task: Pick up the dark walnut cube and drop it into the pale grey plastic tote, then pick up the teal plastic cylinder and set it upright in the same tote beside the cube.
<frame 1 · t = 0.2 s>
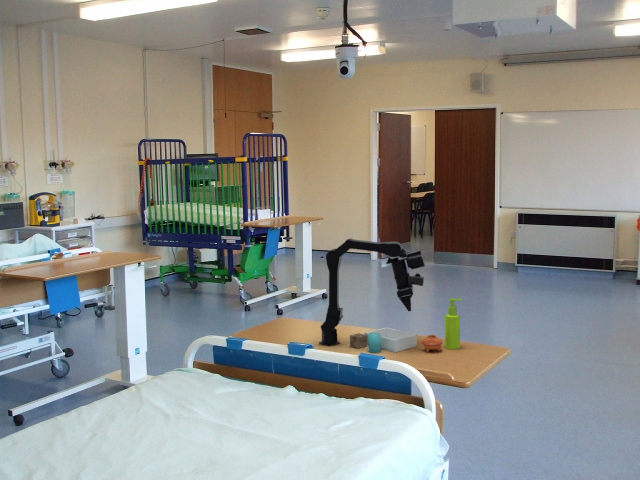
hand: (409, 309, 263), 15 cm above the table, tool pointing down, fingers open, 9 cm apart
soap dispenser: (454, 347, 261), on the table
tote: (390, 345, 266), on the table
teal cylinder: (374, 351, 257), on the table
pot: (432, 351, 257), on the table
walnut cube: (358, 347, 265), on the table
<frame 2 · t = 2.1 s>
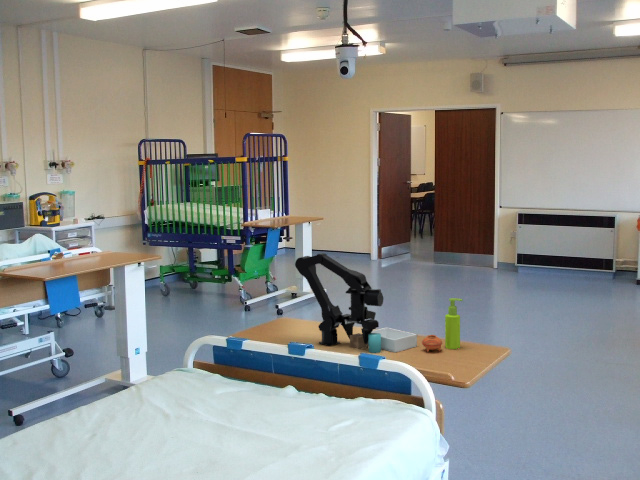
hand: (358, 342, 265), 2 cm above the table, tool pointing down, fingers open, 8 cm apart
teal cylinder: (374, 351, 257), on the table, touching gripper
everything else where it was.
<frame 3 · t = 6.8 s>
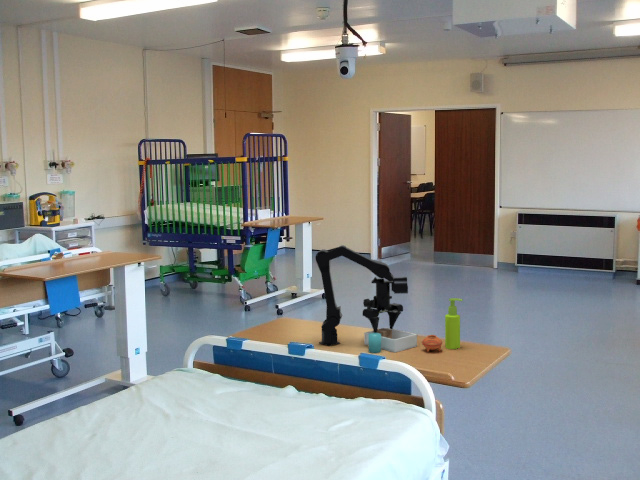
hand: (383, 330, 268), 5 cm above the table, tool pointing down, fingers open, 9 cm apart
teal cylinder: (374, 351, 257), on the table
walnut cube: (383, 341, 269), point 1 cm above the table, touching tote
everything else where it was.
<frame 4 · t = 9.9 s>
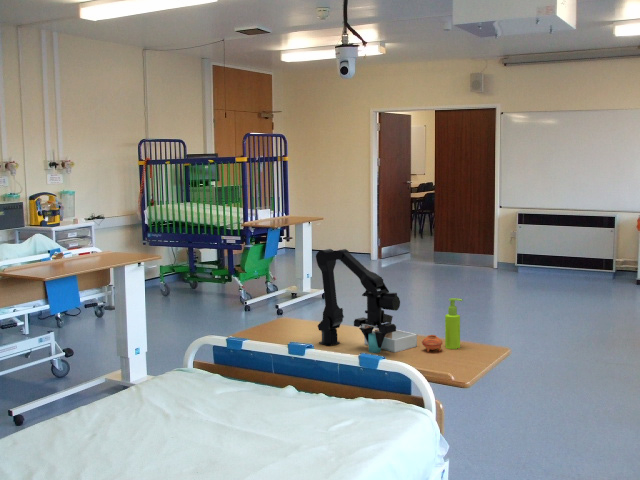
hand: (374, 346, 257), 2 cm above the table, tool pointing down, fingers closed on teal cylinder, 5 cm apart
teal cylinder: (374, 351, 257), on the table, touching gripper
everything else where it was.
when the fingers open (5 cm above the table, at t = 13.3 s): teal cylinder drops 2 cm, resting on tote.
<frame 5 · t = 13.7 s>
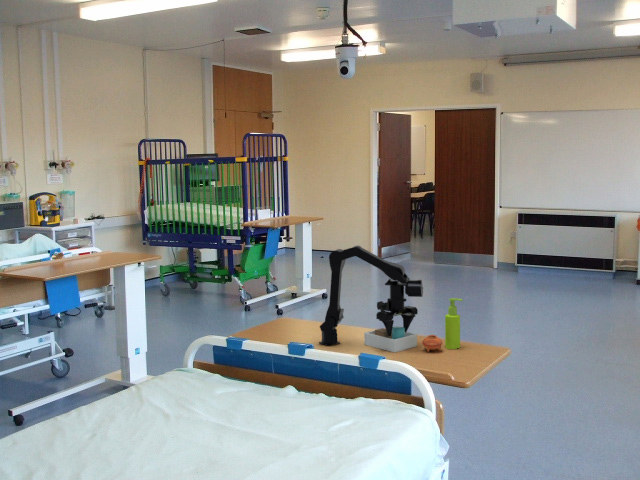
hand: (397, 334, 262), 5 cm above the table, tool pointing down, fingers open, 9 cm apart
teal cylinder: (397, 344, 263), point 1 cm above the table, touching tote
everything else where it was.
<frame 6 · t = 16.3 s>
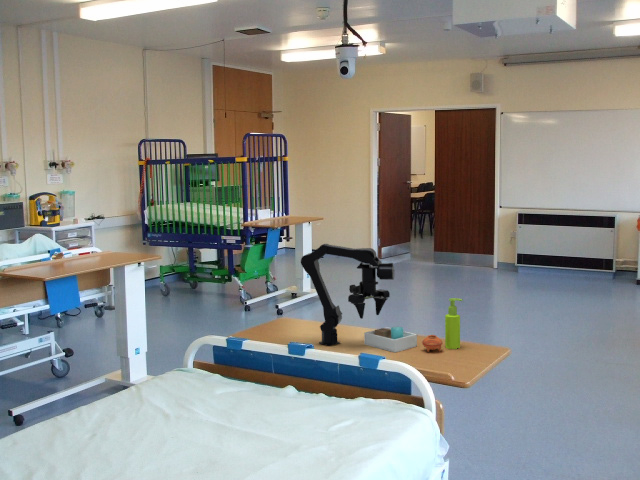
hand: (369, 316, 266), 12 cm above the table, tool pointing down, fingers open, 9 cm apart
nothing on the table moved.
at the end: walnut cube inside the target area on the tote (4.0 cm from its centre), point 0.8 cm above the tote's base; teal cylinder inside the target area on the tote (3.9 cm from its centre), point 0.9 cm above the tote's base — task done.
